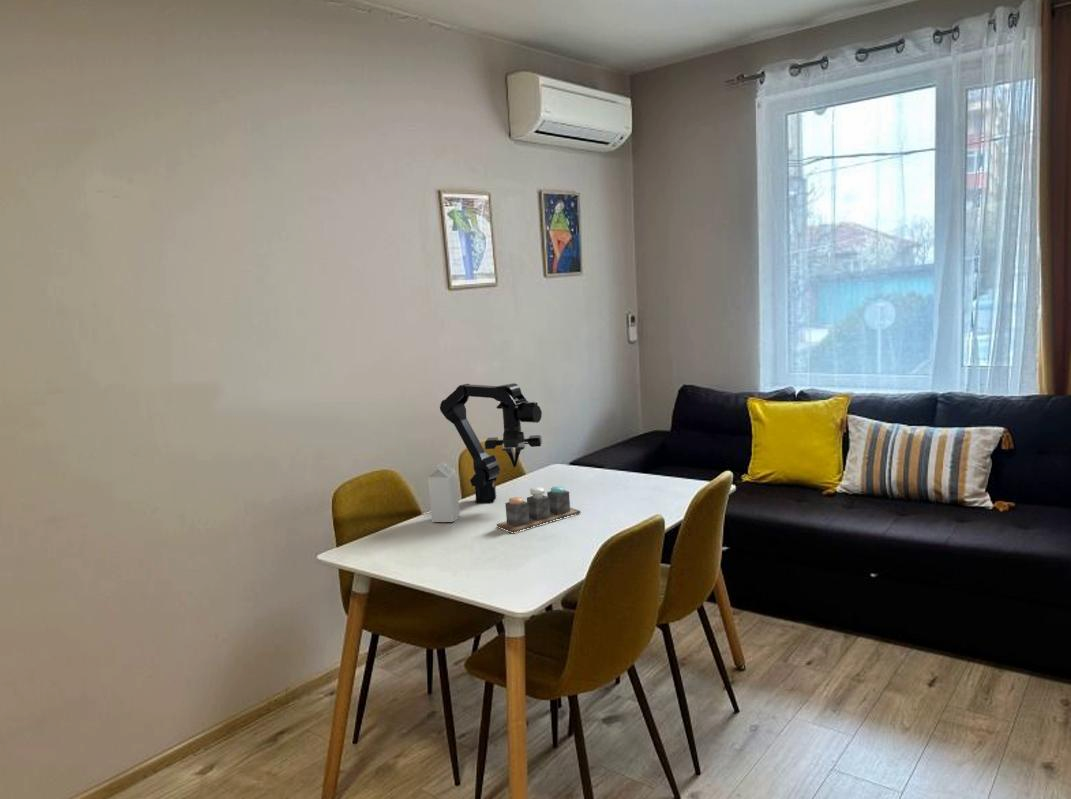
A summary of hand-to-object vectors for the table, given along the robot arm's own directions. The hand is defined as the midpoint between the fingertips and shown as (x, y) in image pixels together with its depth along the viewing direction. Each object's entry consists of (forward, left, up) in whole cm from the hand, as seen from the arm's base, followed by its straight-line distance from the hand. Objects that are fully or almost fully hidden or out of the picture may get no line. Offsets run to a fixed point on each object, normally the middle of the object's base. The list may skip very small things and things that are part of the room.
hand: (515, 467), depth 243 cm
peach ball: (+2, -24, -8) cm, 25 cm away
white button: (+9, -18, -7) cm, 21 cm away
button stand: (+9, -18, -13) cm, 24 cm away
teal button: (+15, -13, -8) cm, 21 cm away
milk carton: (-22, -14, -13) cm, 29 cm away
